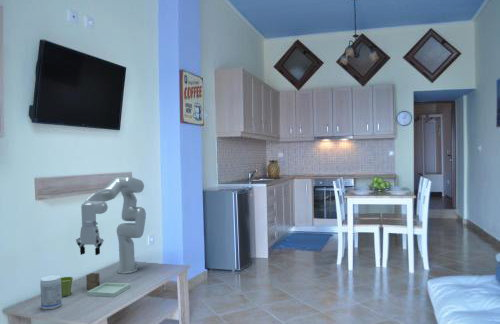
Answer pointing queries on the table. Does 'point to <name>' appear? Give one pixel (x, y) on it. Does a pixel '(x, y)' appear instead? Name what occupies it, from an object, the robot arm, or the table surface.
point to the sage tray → (108, 289)
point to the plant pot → (66, 285)
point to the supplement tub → (51, 292)
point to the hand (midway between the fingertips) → (90, 254)
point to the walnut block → (92, 280)
